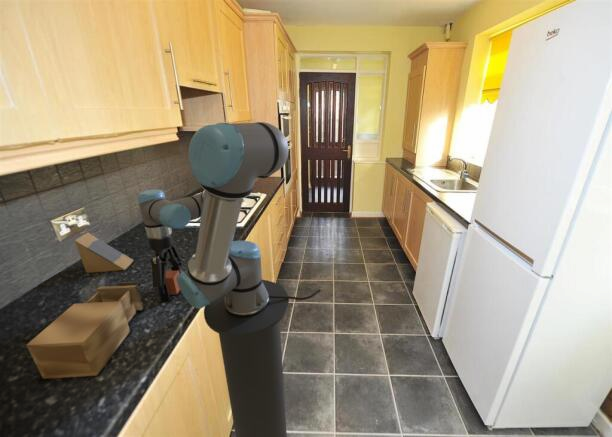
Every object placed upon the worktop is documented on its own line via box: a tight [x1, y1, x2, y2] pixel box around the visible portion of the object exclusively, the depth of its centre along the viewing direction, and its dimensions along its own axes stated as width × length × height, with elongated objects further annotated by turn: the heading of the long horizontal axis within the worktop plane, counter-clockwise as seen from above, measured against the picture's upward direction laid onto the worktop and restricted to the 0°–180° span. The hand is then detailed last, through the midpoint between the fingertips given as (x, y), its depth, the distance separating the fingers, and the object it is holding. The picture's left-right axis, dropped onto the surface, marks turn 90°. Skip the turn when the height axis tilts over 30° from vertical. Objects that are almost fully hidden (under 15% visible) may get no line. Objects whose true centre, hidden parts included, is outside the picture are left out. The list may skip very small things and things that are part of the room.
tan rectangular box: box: [26, 301, 131, 380], centre depth 71 cm, size 15×13×11 cm
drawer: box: [85, 281, 144, 323], centre depth 83 cm, size 19×12×9 cm, turn 3°
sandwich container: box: [74, 231, 134, 274], centre depth 113 cm, size 9×15×15 cm, turn 98°
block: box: [165, 270, 181, 296], centre depth 97 cm, size 5×5×7 cm
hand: (172, 290), depth 98 cm, fingers open, 10 cm apart
